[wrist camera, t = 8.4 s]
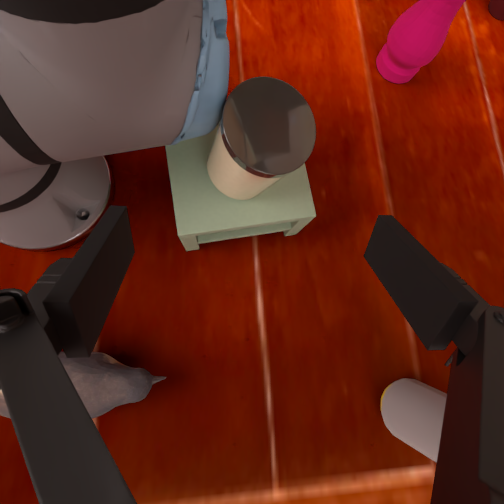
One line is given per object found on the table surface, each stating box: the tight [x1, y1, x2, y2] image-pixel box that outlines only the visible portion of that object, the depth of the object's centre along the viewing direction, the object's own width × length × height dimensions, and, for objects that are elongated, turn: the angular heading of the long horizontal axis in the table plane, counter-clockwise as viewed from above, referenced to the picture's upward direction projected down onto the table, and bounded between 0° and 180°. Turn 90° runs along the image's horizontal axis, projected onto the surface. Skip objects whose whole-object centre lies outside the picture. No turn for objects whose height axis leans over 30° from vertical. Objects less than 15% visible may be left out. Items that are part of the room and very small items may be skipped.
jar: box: [207, 77, 316, 200], centre depth 25 cm, size 7×7×9 cm
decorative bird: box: [0, 352, 166, 418], centre depth 29 cm, size 6×25×5 cm, turn 87°
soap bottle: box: [381, 378, 447, 463], centre depth 27 cm, size 7×7×18 cm
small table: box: [165, 122, 316, 251], centre depth 34 cm, size 14×12×8 cm
